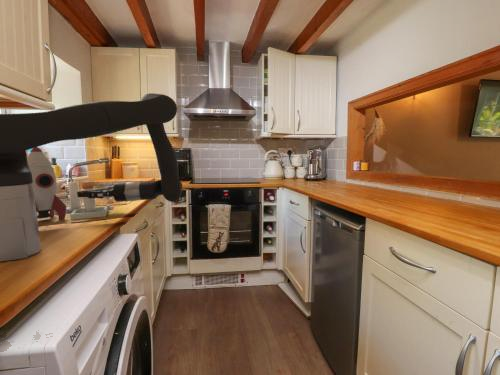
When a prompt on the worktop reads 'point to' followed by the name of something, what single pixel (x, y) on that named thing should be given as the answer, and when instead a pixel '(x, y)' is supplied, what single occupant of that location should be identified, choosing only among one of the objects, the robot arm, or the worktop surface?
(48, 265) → the worktop surface
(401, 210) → the worktop surface
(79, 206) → the cylinder
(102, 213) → the tray
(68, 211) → the holder
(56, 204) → the toy
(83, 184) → the cylinder
